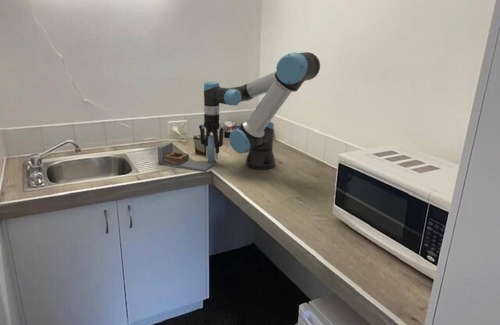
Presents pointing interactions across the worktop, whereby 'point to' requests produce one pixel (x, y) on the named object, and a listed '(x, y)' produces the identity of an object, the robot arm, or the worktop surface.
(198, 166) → the board
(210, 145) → the dowel
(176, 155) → the socket block
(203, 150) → the food container
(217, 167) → the worktop surface
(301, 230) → the worktop surface
